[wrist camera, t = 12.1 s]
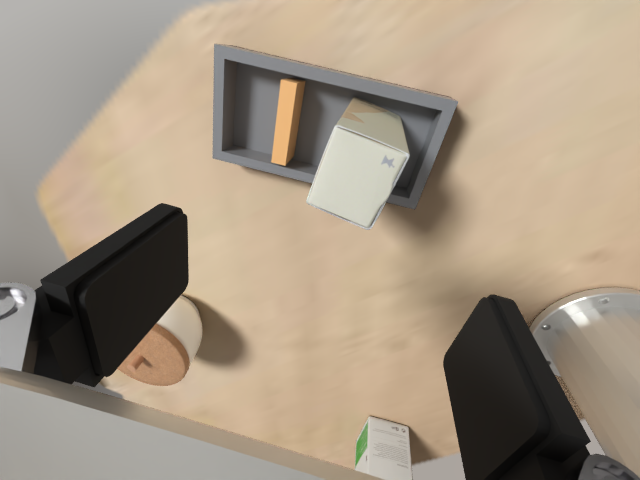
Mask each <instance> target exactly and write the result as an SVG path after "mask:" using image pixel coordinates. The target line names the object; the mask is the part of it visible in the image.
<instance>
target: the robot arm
mask: <svg viewBox="0 0 640 480" xmlns="http://www.w3.org/2000/svg"><path fill="white" fill-rule="evenodd" d="M188 280H189V279H188V227H187V216H186V215H185V214H183V211H182V209H181V208H178V207H175V206H171V205H167V204H163V203H161V204H159V205H157V206H156V207H154V208H152V209H151V210H149V211H148V212H146V213H145V214H143V215H141V216H140V217H138V218H137V219H135V220H134V221H132V222H130V223H129V224H127V225H126V226H124V227H123V228H121V229H119V230H118V231H116V232H115V233H113V234H112V235H110V236H108V237H107V238H105V239H104V240H102V241H101V242H99V243H98V244H96V245H94V246H93V247H91V248H90V249H88V250H87V251H85V252H83V253H82V254H80V255H79V256H77V257H76V258H74V259H72V260H71V261H69V262H68V263H66V264H65V265H63V266H61V267H60V268H58V269H57V270H55V271H54V272H52V273H50V274H49V275H47V276H46V277H44V278H43V279H41V283H42V286H41V287H39V288H37V289H36V290H33V289H32V288H31V287H29V286H27V285H24V284H21V283H12V282H11V283H0V480H385V479H382V478H378V477H375V476H372V475H369V474H366V473H362V472H359V471H356V470H353V469H350V468H346V467H343V466H340V465H337V464H333V463H330V462H327V461H324V460H320V459H317V458H314V457H311V456H308V455H304V454H301V453H298V452H295V451H291V450H288V449H285V448H282V447H278V446H275V445H272V444H269V443H265V442H262V441H259V440H256V439H252V438H249V437H246V436H243V435H239V434H236V433H233V432H229V431H226V430H223V429H220V428H216V427H213V426H210V425H207V424H203V423H200V422H197V421H193V420H190V419H187V418H183V417H180V416H177V415H173V414H170V413H167V412H164V411H160V410H157V409H154V408H150V407H147V406H144V405H140V404H137V403H134V402H130V401H127V400H124V399H120V398H117V397H114V396H110V395H107V394H103V393H100V392H96V391H93V390H89V389H85V388H82V387H79V386H75V385H72V383H73V382H74V381H75V382H79V383H82V384H85V385H88V386H92V387H95V386H96V385H97V384H98V383H99V382H100V381H101V379H102V378H103V377H104V376H105V377H108V376H110V375H111V374H113V373H114V372H115V370H116V369H117V368H118V367H119V366H120V365H121V364H122V362H123V361H124V360H125V359H126V358H127V357H128V355H129V354H130V353H131V352H132V351H133V350H134V349H135V347H136V346H137V345H138V344H139V343H140V342H141V340H142V339H143V338H144V337H145V336H146V335H147V334H148V332H149V331H150V330H151V329H152V328H153V327H154V325H155V324H156V323H157V322H158V321H159V320H160V319H161V317H162V316H163V315H164V314H165V313H166V312H167V310H168V309H169V308H170V307H171V306H172V305H173V304H174V302H175V301H176V300H177V299H178V298H179V297H180V295H181V294H182V293H183V292H184V291H185V289H186V287H187V285H188ZM443 365H444V371H445V376H446V381H447V386H448V391H449V396H450V401H451V406H452V412H453V417H454V422H455V427H456V432H457V437H458V442H459V447H460V452H461V457H462V462H463V468H464V473H465V478H466V480H640V291H639V290H635V289H630V288H620V287H609V288H597V289H591V290H586V291H582V292H579V293H575V294H572V295H570V296H567V297H565V298H563V299H560V300H559V301H557V302H555V303H554V304H552V305H550V306H549V307H547V308H546V309H545V310H544V311H542V312H541V313H540V314H539V315H538V316H537V318H536V319H535V320H534V321H533V323H532V325H531V326H530V328H529V327H528V325H527V324H526V322H525V320H524V318H523V316H522V314H521V312H520V311H519V309H518V307H517V305H516V303H515V302H514V301H513V300H511V299H507V298H504V297H500V296H497V295H490V296H488V297H487V298H486V297H483V298H482V299H481V300H480V301H479V303H478V304H477V306H476V307H475V309H474V311H473V312H472V314H471V315H470V317H469V318H468V320H467V321H466V323H465V324H464V326H463V328H462V329H461V331H460V332H459V334H458V335H457V337H456V338H455V340H454V341H453V343H452V345H451V346H450V348H449V349H448V351H447V352H446V354H445V356H444V361H443ZM555 375H556V376H559V377H562V379H563V380H564V382H565V384H566V386H567V388H568V389H569V391H570V393H571V395H572V396H573V398H574V400H575V402H576V403H577V405H578V407H579V409H580V410H581V412H582V414H583V416H584V418H585V419H586V421H587V423H588V425H589V426H590V428H591V430H592V432H593V433H594V435H595V437H596V439H597V441H598V442H599V444H600V446H601V447H602V449H603V451H604V453H605V454H606V456H604V455H599V454H594V455H590V453H589V452H588V450H587V448H586V446H585V445H587V444H588V443H589V442H591V441H590V439H589V437H588V436H587V434H586V432H585V430H584V428H583V426H582V425H581V423H580V421H579V419H578V417H577V415H576V414H575V412H574V410H573V408H572V406H571V404H570V403H569V401H568V399H567V397H566V395H565V393H564V391H563V390H562V388H561V386H560V384H559V382H558V380H557V379H556V377H555Z"/></svg>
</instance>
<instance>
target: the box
mask: <svg viewBox="0 0 640 480" xmlns="http://www.w3.org/2000/svg"><path fill="white" fill-rule="evenodd" d="M409 156H410V154H409V150H408V146H407V142H406V137H405V133H404V129H403V125H402V121H401V117H400V116H399V115H397V114H395V113H392V112H390V111H388V110H386V109H384V108H382V107H379V106H377V105H375V104H372V103H370V102H367V101H365V100H362V99H359V98H357V97H353V99H352V100H351V102H350V104H349V105H348V107H347V108H346V110H345V112H344V113H343V115H342V116H341V118H340V120H339V121H338V123H337V124H336V125H335V127H334V129H333V131H332V134H331V136H330V139H329V141H328V143H327V146H326V148H325V151H324V153H323V156H322V159H321V161H320V164H319V166H318V169H317V172H316V175H315V178H314V180H313V183H312V186H311V189H310V192H309V195H308V198H307V201H306V202H307V203H308V204H309V205H311V206H313V207H316V208H318V209H320V210H322V211H325V212H327V213H329V214H331V215H333V216H336V217H338V218H340V219H342V220H345V221H347V222H349V223H352V224H354V225H357V226H359V227H361V228H364V229H366V230H369V229H371V228H372V227H373V225H374V223H375V222H376V220H377V218H378V216H379V215H380V213H381V211H382V209H383V207H384V205H385V203H386V201H387V200H388V198H389V196H390V194H391V192H392V190H393V188H394V186H395V184H396V182H397V180H398V178H399V177H400V175H401V173H402V171H403V169H404V167H405V165H406V163H407V161H408V159H409Z"/></svg>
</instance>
